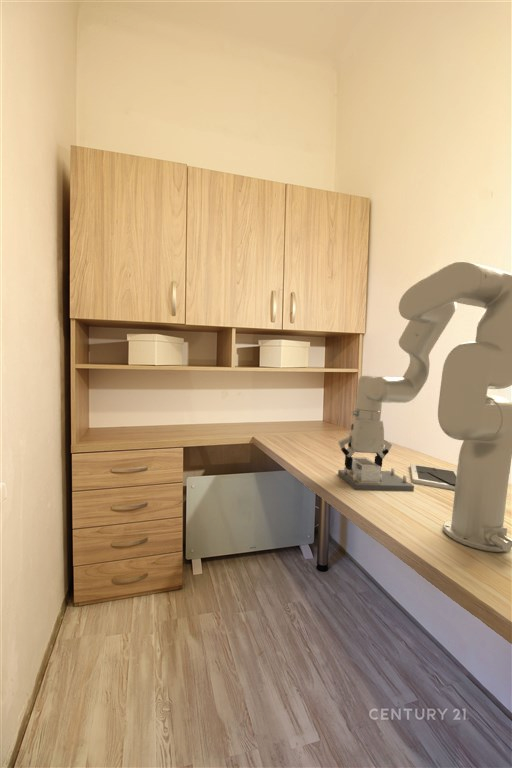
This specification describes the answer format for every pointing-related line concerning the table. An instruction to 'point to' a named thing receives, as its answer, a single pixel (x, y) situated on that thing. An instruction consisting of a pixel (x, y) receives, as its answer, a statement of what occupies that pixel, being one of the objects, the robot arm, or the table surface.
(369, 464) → the block
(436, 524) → the table surface
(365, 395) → the robot arm
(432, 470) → the picture frame
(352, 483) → the tray
